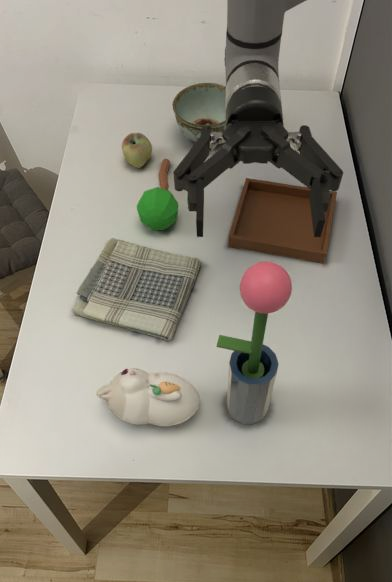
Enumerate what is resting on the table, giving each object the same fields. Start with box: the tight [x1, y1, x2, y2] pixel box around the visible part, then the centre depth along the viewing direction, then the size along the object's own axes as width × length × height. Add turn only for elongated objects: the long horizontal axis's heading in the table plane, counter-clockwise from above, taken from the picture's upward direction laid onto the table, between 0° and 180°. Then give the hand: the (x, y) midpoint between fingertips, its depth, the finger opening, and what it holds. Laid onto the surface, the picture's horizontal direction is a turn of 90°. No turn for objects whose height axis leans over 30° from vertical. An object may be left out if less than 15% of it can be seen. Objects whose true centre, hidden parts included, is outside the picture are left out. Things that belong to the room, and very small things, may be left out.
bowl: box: [171, 82, 226, 143], centre depth 104 cm, size 14×13×8 cm
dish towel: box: [72, 237, 202, 342], centre depth 86 cm, size 19×18×3 cm
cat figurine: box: [96, 368, 201, 427], centre depth 73 cm, size 10×8×15 cm
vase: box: [226, 344, 279, 425], centre depth 70 cm, size 6×6×14 cm
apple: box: [121, 132, 153, 169], centre depth 102 cm, size 6×8×6 cm
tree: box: [136, 157, 180, 231], centre depth 96 cm, size 8×8×20 cm
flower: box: [216, 261, 293, 379], centre depth 62 cm, size 7×5×32 cm
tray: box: [227, 177, 338, 264], centre depth 93 cm, size 18×16×3 cm
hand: (259, 229), depth 57 cm, fingers open, 13 cm apart
